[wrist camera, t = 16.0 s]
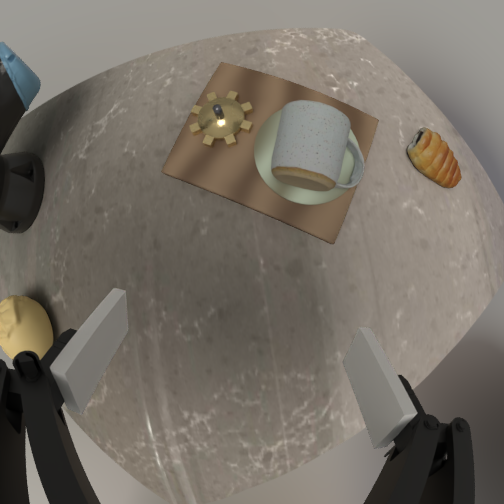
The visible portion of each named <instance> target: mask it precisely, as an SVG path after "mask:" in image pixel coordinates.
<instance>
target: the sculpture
mask: <svg viewBox="0 0 504 504" xmlns="http://www.w3.org/2000/svg"><path fill="white" fill-rule="evenodd" d="M52 344H53V331H52V326H51V322H50V319H49V317H48V315H47V313H46V311H45V310H44V308H43V307H42V306H41V305H40V304H39V303H38V302H36V301H35V300H33V299H30V298H29V297H26V296H17V295H13V296H9V297H8V298H6V299H4V300H2V302H1V303H0V345H1V347H2V349H3V350H4V352H5V353H6V354H7V355H8V356H9V357H10V358H11V359H12V360H13V359H14V357H15V356H16V355H17V354H18V353H19V352H22V351H33V352H35V353H36V354H37V355H38V356H39V359H40V360H41V359H42V357H43V356H44V355H45V354H46V352H47V351H48V350H49V349H50V347H51V346H52Z"/></svg>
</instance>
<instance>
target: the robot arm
mask: <svg viewBox="0 0 504 504" xmlns="http://www.w3.org/2000/svg"><path fill="white" fill-rule="evenodd" d="M39 89H40V80H39V78H38V77H37V76H36V74H35V73H34V72H33V71H32V70H31V69H30V68H29V67H28V66H27V65H26V64H25V63H24V62H23V61H22V60H21V59H20V58H19V57H18V56H17V55H16V54H15V53H14V52H13V51H12V50H11V49H10V48H9V47H8V46H7V45H6V44H5V43H4V42H0V229H2V230H4V231H6V232H8V233H22V232H24V231H25V230H27V229H28V228H29V227H30V225H31V224H32V223H33V221H34V219H35V217H36V215H37V213H38V210H39V207H40V204H41V200H42V196H43V190H44V171H43V166H42V163H41V161H40V159H39V158H38V157H37V156H36V155H34V154H31V153H28V152H18V153H11V154H4V155H1V152H2V150H3V148H4V147H5V145H6V143H7V141H8V139H9V137H10V136H11V134H12V132H13V131H14V129H15V127H16V126H17V124H18V122H19V121H20V119H21V117H22V116H23V114H24V113H25V111H27V110H28V109H29V105H30V104H31V102H32V100H33V99H34V98H35V96H36V95H37V93H38V92H39ZM127 332H128V318H127V301H126V291H125V290H121V289H117V288H113V289H112V291H111V292H110V293H109V294H108V295H107V296H106V297H105V299H104V300H103V301H102V302H101V303H100V304H99V305H98V307H97V308H96V309H95V310H94V311H93V313H92V314H91V315H90V316H89V317H88V319H87V320H86V321H85V322H84V323H83V325H82V326H81V327H80V328H79V330H78V331H76V330H74V329H71V328H70V329H69V330H67V331H65V332H63V333H62V334H61V335H60V336H59V338H58V339H57V341H55V342H54V344H53V345H52V346H51V347H50V349H49V350H48V351H47V352H46V354H45V355H44V356H43V357H42V359H41V360H40V359H39V356H38V355H37V354H36V353H35V352H33V351H22V352H19V353H18V354H17V355H16V356H15V357H14V359H13V366H14V368H15V370H13V369H8V367H7V366H6V363H5V362H4V361H3V360H2V359H0V504H30V502H29V495H28V487H27V476H26V458H25V433H26V431H25V430H26V428H27V433H28V438H29V442H30V446H31V450H32V454H33V457H34V461H35V464H36V468H37V471H38V474H39V477H40V480H41V483H42V485H43V488H44V491H45V494H46V496H47V499H48V501H49V503H50V504H100V502H99V500H98V498H97V496H96V494H95V492H94V490H93V488H92V486H91V484H90V482H89V480H88V478H87V476H86V473H85V471H84V469H83V467H82V464H81V462H80V459H79V457H78V455H77V452H76V450H75V447H74V444H73V441H72V438H71V436H70V433H69V430H68V427H67V424H66V420H65V417H64V414H63V410H62V408H61V406H62V404H63V403H64V402H65V404H66V406H67V408H68V409H70V410H72V411H74V412H76V413H79V414H81V415H82V414H83V412H84V410H85V408H86V406H87V404H88V402H89V400H90V398H91V396H92V394H93V392H94V391H95V389H96V387H97V385H98V383H99V381H100V379H101V378H102V376H103V374H104V372H105V370H106V368H107V367H108V365H109V363H110V361H111V360H112V358H113V356H114V354H115V353H116V351H117V349H118V347H119V346H120V344H121V342H122V341H123V339H124V337H125V336H126V334H127ZM343 364H344V367H345V369H346V372H347V374H348V377H349V380H350V382H351V385H352V388H353V390H354V393H355V396H356V399H357V401H358V404H359V407H360V410H361V412H362V415H363V418H364V421H365V424H366V427H367V430H368V433H369V435H370V438H371V441H372V444H373V447H374V449H376V448H382V447H386V446H388V445H389V444H390V443H391V442H392V441H393V440H394V443H395V446H393V447H392V448H391V449H390V450H389V451H388V452H387V453H386V454H385V456H384V457H386V456H387V455H389V456H388V458H387V460H386V463H385V465H384V467H383V469H382V471H381V473H380V475H379V477H378V479H377V481H376V482H375V484H374V486H373V488H372V490H371V492H370V493H369V495H368V497H367V499H366V500H365V502H364V504H474V501H475V482H474V481H475V479H474V461H473V450H472V440H471V432H470V427H469V424H468V423H467V421H466V420H464V419H463V418H460V417H459V418H455V419H453V420H452V422H451V423H450V424H445V423H440V422H439V421H438V419H437V418H436V417H434V416H432V415H429V414H427V415H426V414H425V412H424V410H423V408H422V406H421V404H420V402H419V400H418V399H417V397H416V395H415V393H414V391H413V389H412V388H411V386H410V384H409V382H408V381H407V380H406V379H405V378H404V377H403V376H402V375H397V373H396V372H395V370H394V368H393V366H392V364H391V363H390V361H389V359H388V357H387V356H386V354H385V352H384V350H383V349H382V347H381V345H380V344H379V342H378V340H377V338H376V337H375V335H374V333H373V332H372V330H371V328H367V327H359V328H358V331H357V333H356V335H355V337H354V340H353V342H352V344H351V346H350V348H349V350H348V352H347V354H346V356H345V358H344V360H343ZM446 455H447V460H446Z"/></svg>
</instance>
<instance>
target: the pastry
mask: <svg viewBox="0 0 504 504" xmlns="http://www.w3.org/2000/svg"><path fill="white" fill-rule="evenodd" d="M407 151H408V154H409V157H410V159H411V161H412V163H413V165H414V166H415V167H416V168H417V169H418V170H419V171H420V172H421V173H422V174H424V175H425V176H426V177H428V178H429V179H431V180H432V181H434V182H436V183H437V184H439V185H441V186H442V187H446V188H453V187H455V186H456V185H457V184H458V182H459V181H460V180H461V173H460V168H459V166H458V162H457V160H456V159H455V158H454V156H453V151H451V150H450V149H449V147H448V145H447V142H445V141H442V140H441V137H440V135H439V134H438V133H436V132H432V131H431V130H430V129H428V128H425V127H423V128H421V129H420V132H419V134H416V135H415V137H414V140H413V143H411V144H410V145H409V147H408V148H407Z"/></svg>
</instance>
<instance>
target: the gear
mask: <svg viewBox="0 0 504 504" xmlns="http://www.w3.org/2000/svg"><path fill="white" fill-rule="evenodd" d="M207 97H208V100H209V102H207V103H206V104H205V105H204V106H203V107H200V106H197V105H194V107H193V108H192V110H191V113H192V115H193V116H196V117H198V120H197V121H198V122H197V123H194V124H192V125H190V126H189V127H190V129H191V132H192V134H193V135H194V136H196V135H198V134H200V133H203V134H204V135H205V138H204V140H203V142H202V143H203V144H204V146H207V147H210V148H213V146H214V144H215V142H216V140H217V141H223V140H226V143H227V145H228V147H229V148H230V147H232V146H235V145H237V143H236V140H235V138H234V136H236V135H237V134H238V133H239V132H240V131H243V132H246V133H250V131H251V129H252V127H253V124H252V122H249V121H246V120H245V115H248V114H250V113H253V108H252V106H251V104H250V102H247V103H244V104H241V105H240V104H239V103H238V102H237V100H238V98H239V95H238V93H237V92H234V91H230V92H229V93H228V95H227V97H219V98H217V96H216V94H215V92H212V93H209V94H207Z"/></svg>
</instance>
